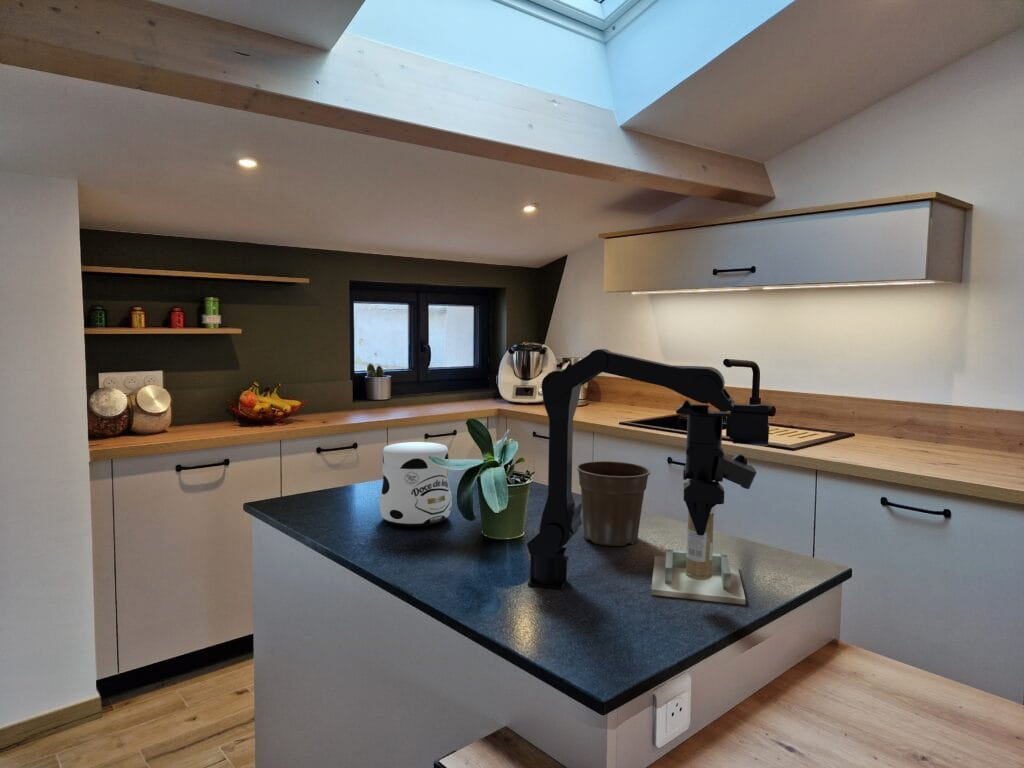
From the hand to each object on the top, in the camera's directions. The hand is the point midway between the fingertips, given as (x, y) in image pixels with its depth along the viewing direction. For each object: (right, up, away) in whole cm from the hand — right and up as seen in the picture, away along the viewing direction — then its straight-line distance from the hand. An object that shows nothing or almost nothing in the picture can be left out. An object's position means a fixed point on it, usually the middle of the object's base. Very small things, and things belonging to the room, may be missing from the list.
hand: (700, 531), depth 117 cm
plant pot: (-10, -10, +36) cm, 39 cm away
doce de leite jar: (-56, -8, +47) cm, 74 cm away
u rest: (+2, -12, +11) cm, 16 cm away
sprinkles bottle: (0, -8, +1) cm, 8 cm away
